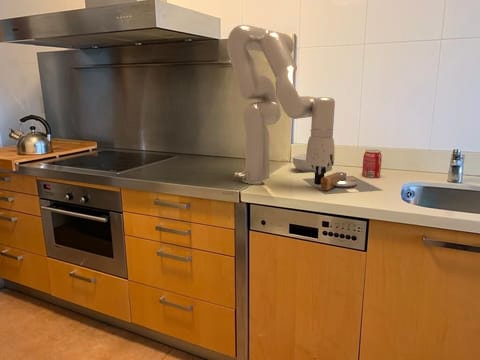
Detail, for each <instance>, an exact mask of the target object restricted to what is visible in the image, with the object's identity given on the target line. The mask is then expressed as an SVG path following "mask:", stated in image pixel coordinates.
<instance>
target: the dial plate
mask: <svg viewBox="0 0 480 360" xmlns="http://www.w3.org/2000/svg"><path fill="white" fill-rule="evenodd" d="M346 176H347V177H352V178H355V179H356V180H357V185H355V186H351V187H337V186H335V187H333V188H331V189H329V190H324V189H321V185H317V184H314V180H315V177H313V178H312V177H310V178H302V180H303V181H304V182H306V183H307V184H309V185H311V186H312V187H314V188H315V189H316V190H318V191H320V192H321V193H323V194H324V195H333V194H334V195H335V194H349V193H350V194H351V193H364V192H365V193H367V192H368V193H369V192H376V191H377V192H380V191H381V192H382V191H384V190H383V189H381V188H380V187H377V186H375V185H373V184H371V183H368V182H367V181H366V180H365V181H364V179H363V180H362V179H361V178H359V177H357V176H354V175H346Z"/></svg>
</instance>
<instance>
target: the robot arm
mask: <svg viewBox="0 0 480 360" xmlns="http://www.w3.org/2000/svg"><path fill="white" fill-rule="evenodd" d="M226 41H227V43H226V49H227V54H228V57H229V60H230V62H231V65H232V68H233V71H234V75H235V80H236V82H237V83H236V84H237V87H238V90H239V94H240V96H241V98H242V99H244V100H246V101H256V102H251V103H249V104H247V106H246V107H245V108H244V109H243V113H242V119H243V123H244V124H243V126H244V131H245V133H244V134H245V169H244V168H243V170H242V171H236V172H234V173H233V174H234V178H241V181H242V182H243V183H244V184H247V183H248V185H255V186H256V185H259V186H260V185H265V182H264V181H266V180H269V179H270V150H271V149H270V148H271V147H270V132H269V129H268V126H273V125H275V124H276V123H278V122H279V120H280V119H281V115H282V112H281V111H282V110H283V111H284V113H285V114H286V116H287V117H288V118H290V119H293V120H297V119H306V118H311V125H310V126H311V127H310V136H309V138H308V141H307V146H306V152H305V154H306V162H307V163H308V164H309V166H311V167H312V168H313V171H314V172H313V174H314V178H315V180H314V184H317V185H321V178H322V177H325V174H327V172H329V171H333V165H334V164H335V140H334V138H333V136H334V126H335V125H334V124H335V123H334V122H335V105H336V103H335V102H336V101H335V99H334V98H333V97H325V96H324V97H314V96H305V95H304V96H303V95H302V96H300V95H299V94H298V91H297V89H296V87H295V84H294V75H295V73H296V72H297V70H298V66H297V64H296V62H295V59H294V57H293V55H292V53H293V52H294V48H295V47H294V46H295V45H294V40H293V39H292V37H291V36H290V35H289V34H287V33H286V34H285V33H282V32H278V31H273V30H269V29H265V28H263V27H257V26H254V25H253V26H252V25H248V24H240V25H237V26H235V27H233V29H232V30H231V31H230V32H229V35H228V38H227V40H226ZM249 51H256V52H261V53H262V54H264V57H265V59H266V60H267V61H266V62H267V63H268V65H269V67H270V69H271V71H272V73H273V75H274V78H275V83H273V81H272V80H271V79H270V77H268V76H266V75H260V74H259V73H258V71H257V67H256V63H255V61H254V59H253V57H252V56H251V54H250V52H249ZM274 84H275V85H274ZM281 108H282V109H281Z"/></svg>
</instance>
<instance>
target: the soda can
mask: <svg viewBox="0 0 480 360" xmlns="http://www.w3.org/2000/svg"><path fill="white" fill-rule="evenodd" d="M381 152H382V151H381V150H378V149H366V150H365V152H364V154H363V159H362V170H361V176H362V177H363V178H367V179H380V177H381V169H382V163H383V162H382V159H383V155H382V153H381Z"/></svg>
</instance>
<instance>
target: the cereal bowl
mask: <svg viewBox="0 0 480 360" xmlns="http://www.w3.org/2000/svg"><path fill="white" fill-rule="evenodd" d="M292 164H293V166H294V167H295V168H296V169H298V170H299V171H301V172H303V173H305V174H307V173H308V174H309V173H314V171H313V168H312V167H311V166H309V164H308V163H307V162H306V153H297V154H294V155H293V156H292Z"/></svg>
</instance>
